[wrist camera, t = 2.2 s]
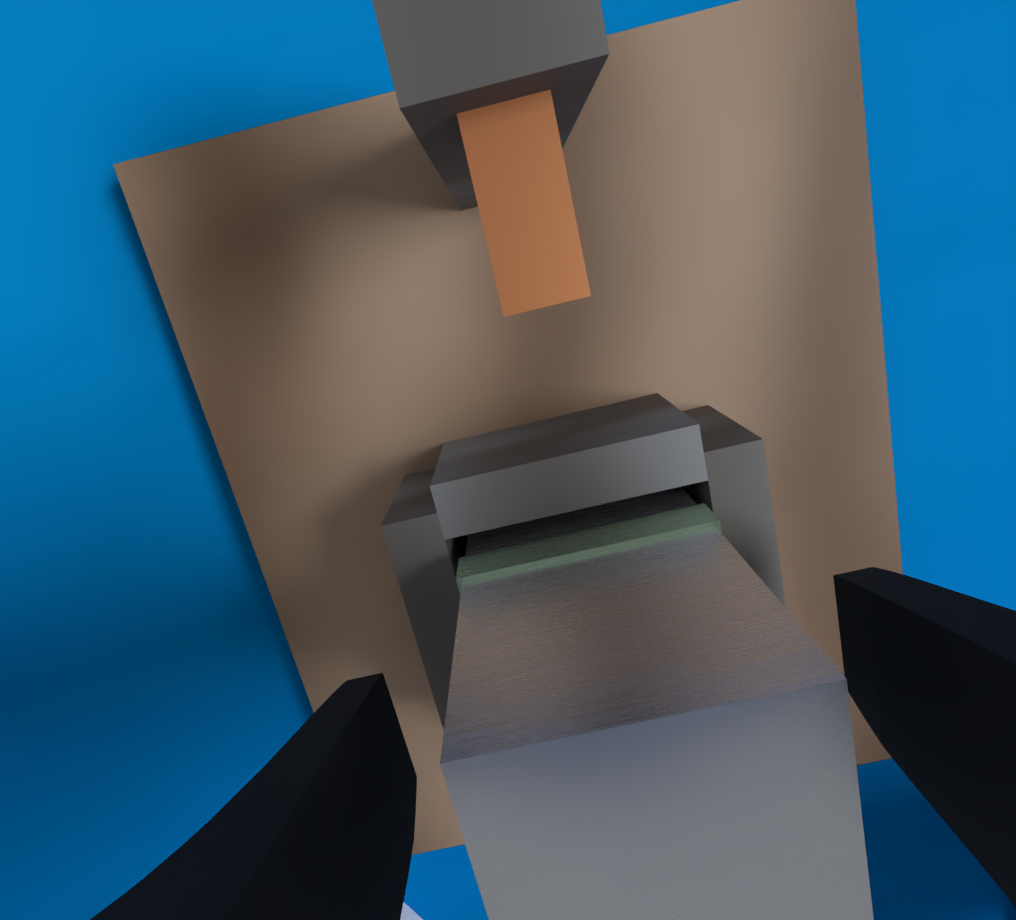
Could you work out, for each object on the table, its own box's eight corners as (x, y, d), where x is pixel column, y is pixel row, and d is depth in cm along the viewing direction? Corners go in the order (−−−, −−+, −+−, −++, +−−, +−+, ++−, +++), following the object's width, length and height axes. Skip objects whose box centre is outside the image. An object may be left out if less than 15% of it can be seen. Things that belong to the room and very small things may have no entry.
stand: (826, -7, 13) (1555, -635, 4) (894, 726, 17) (1306, 1199, 8) (140, 172, 14) (-542, -23, 5) (375, 831, 18) (255, 1370, 9)
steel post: (659, 452, 14) (853, 669, 6) (690, 624, 15) (888, 988, 7) (467, 496, 14) (430, 758, 7) (511, 663, 15) (524, 1056, 8)
